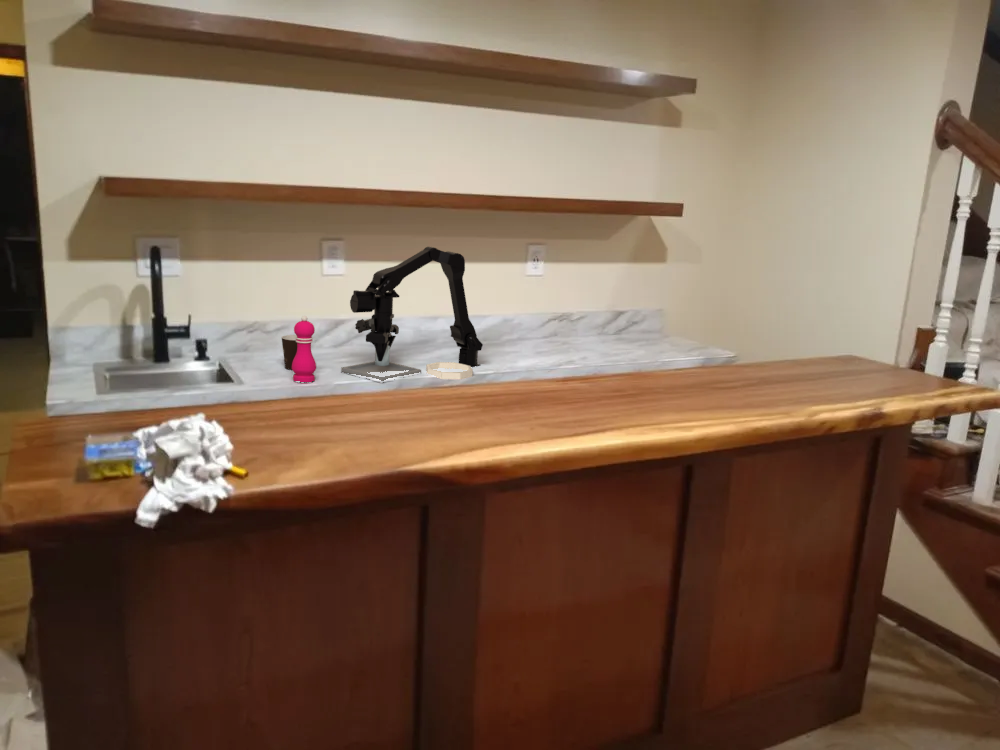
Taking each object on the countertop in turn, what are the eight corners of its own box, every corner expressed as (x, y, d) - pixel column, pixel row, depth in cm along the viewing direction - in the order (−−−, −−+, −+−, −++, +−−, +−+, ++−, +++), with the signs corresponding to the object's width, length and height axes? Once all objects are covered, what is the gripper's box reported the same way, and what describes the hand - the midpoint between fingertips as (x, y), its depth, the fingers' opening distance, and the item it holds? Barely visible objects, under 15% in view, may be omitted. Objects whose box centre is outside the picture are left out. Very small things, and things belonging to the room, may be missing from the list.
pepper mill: (293, 377, 243) (294, 313, 238) (317, 378, 244) (318, 314, 239) (289, 383, 236) (289, 317, 231) (314, 384, 237) (314, 318, 232)
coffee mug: (301, 372, 250) (302, 341, 248) (276, 369, 252) (276, 338, 249) (317, 364, 261) (317, 335, 259) (293, 361, 263) (293, 332, 260)
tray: (381, 364, 268) (381, 359, 267) (421, 374, 257) (421, 369, 257) (341, 372, 253) (341, 367, 253) (381, 383, 243) (381, 378, 243)
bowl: (446, 367, 269) (446, 360, 269) (480, 375, 261) (480, 368, 261) (417, 373, 258) (417, 366, 257) (451, 382, 250) (452, 375, 249)
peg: (382, 362, 258) (382, 343, 256) (392, 364, 255) (392, 346, 254) (372, 363, 254) (372, 345, 253) (382, 366, 252) (382, 348, 250)
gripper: (366, 305, 260) (365, 351, 264) (350, 313, 242) (349, 363, 246) (399, 307, 259) (398, 354, 263) (385, 316, 241) (384, 366, 245)
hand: (382, 359), depth 254 cm, fingers closed on peg, 4 cm apart
